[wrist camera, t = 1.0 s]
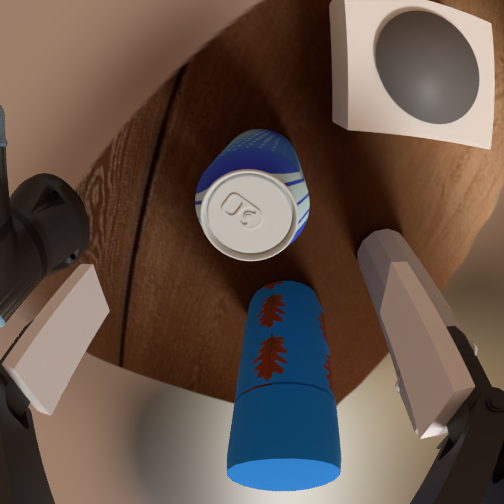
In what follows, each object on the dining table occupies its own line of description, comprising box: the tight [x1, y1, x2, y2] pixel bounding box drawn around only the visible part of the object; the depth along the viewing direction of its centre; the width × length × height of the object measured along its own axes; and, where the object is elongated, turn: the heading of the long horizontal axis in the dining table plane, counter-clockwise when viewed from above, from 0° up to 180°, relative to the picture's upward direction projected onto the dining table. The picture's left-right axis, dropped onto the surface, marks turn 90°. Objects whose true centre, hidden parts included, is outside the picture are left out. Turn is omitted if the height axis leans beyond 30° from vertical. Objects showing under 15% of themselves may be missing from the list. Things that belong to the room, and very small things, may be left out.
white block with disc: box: [329, 0, 495, 150], centre depth 23 cm, size 16×14×8 cm
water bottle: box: [357, 229, 478, 436], centre depth 28 cm, size 9×8×25 cm
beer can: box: [195, 129, 309, 261], centre depth 27 cm, size 8×8×16 cm
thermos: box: [227, 281, 341, 491], centre depth 33 cm, size 11×11×25 cm
